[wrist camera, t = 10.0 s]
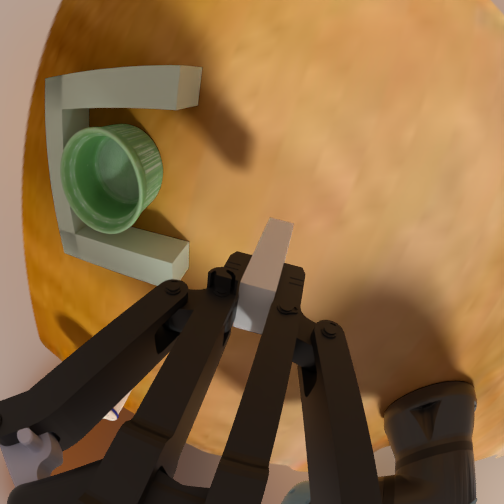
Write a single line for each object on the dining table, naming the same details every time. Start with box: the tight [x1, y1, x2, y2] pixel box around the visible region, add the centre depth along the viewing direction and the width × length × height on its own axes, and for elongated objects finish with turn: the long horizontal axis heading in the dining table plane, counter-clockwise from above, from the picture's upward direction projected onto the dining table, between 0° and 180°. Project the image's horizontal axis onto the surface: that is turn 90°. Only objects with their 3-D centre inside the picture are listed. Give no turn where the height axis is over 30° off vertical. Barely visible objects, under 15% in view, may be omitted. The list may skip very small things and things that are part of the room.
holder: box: [45, 65, 202, 286], centre depth 22 cm, size 14×18×4 cm
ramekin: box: [60, 124, 163, 234], centre depth 21 cm, size 9×9×4 cm
